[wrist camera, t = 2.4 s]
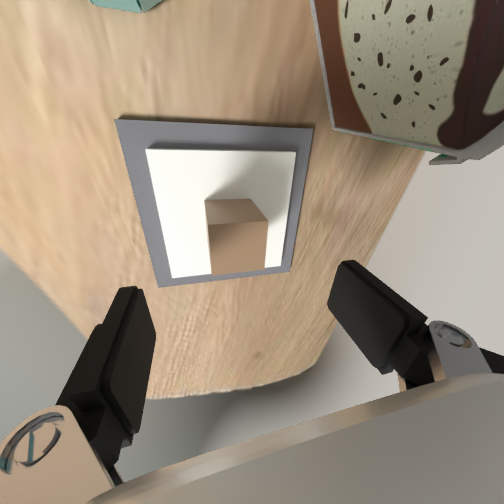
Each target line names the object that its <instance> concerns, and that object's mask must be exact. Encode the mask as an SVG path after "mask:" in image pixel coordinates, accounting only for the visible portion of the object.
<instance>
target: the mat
mask: <svg viewBox="0 0 504 504" xmlns="http://www.w3.org/2000/svg"><path fill="white" fill-rule="evenodd" d="M114 120H115V124H116V128H117V132H118V135H119V139H120V143H121V147H122V151H123V154H124V158H125V162H126V166H127V170H128V174H129V177H130V181H131V185H132V189H133V193H134V197H135V200H136V204H137V208H138V212H139V216H140V219H141V223H142V227H143V231H144V235H145V239H146V242H147V246H148V250H149V254H150V258H151V262H152V265H153V269H154V273H155V277H156V281H157V284H158V288H160V287H168V286H176V285H184V284H193V283H201V282H209V281H217V280H226V279H234V278H242V277H250V276H258V275H267V274H275V273H283V272H290V266H291V260H292V254H293V248H294V242H295V236H296V230H297V224H298V218H299V212H300V207H301V201H302V195H303V189H304V183H305V177H306V171H307V165H308V159H309V153H310V147H311V141H312V135H313V129H305V128H285V127H265V126H244V125H224V124H204V123H183V122H163V121H143V120H123V119H114ZM147 148H162V149H209V150H255V151H293V152H296V157H295V164H294V171H293V179H292V186H291V193H290V201H289V208H288V215H287V223H286V230H285V237H284V245H283V252H282V259H281V266H276V267H267V268H264V270H256V271H247V272H239V273H230V274H221V275H213V276H212V274H205V275H196V276H188V277H179V278H172V275H171V270H170V265H169V261H168V256H167V251H166V246H165V242H164V237H163V232H162V227H161V222H160V218H159V213H158V208H157V203H156V198H155V194H154V189H153V184H152V179H151V174H150V170H149V165H148V160H147V155H146V151H145V149H147Z"/></svg>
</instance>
